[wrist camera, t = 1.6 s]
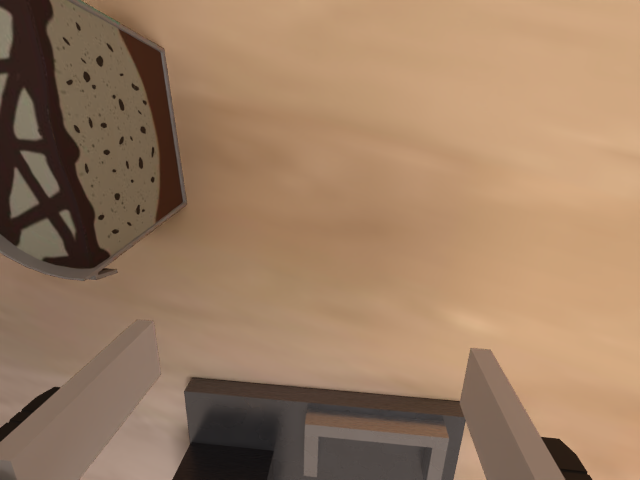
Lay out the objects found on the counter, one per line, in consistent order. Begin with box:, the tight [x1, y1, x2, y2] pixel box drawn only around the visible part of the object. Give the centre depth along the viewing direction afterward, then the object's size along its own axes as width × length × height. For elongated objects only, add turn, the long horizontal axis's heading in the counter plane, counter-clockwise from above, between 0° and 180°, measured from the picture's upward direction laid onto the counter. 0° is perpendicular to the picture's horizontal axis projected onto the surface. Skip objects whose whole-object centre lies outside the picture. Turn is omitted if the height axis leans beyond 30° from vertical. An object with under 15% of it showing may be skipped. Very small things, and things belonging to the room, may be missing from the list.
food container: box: [0, 0, 187, 281], centre depth 18 cm, size 12×6×10 cm, turn 1°
